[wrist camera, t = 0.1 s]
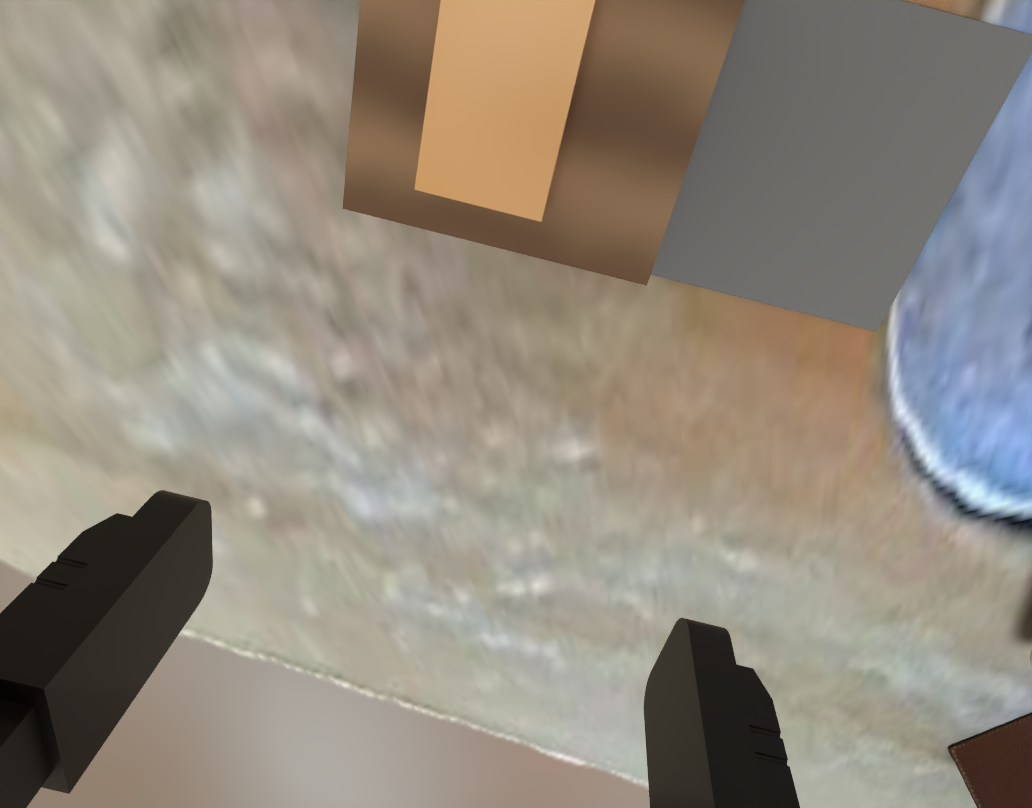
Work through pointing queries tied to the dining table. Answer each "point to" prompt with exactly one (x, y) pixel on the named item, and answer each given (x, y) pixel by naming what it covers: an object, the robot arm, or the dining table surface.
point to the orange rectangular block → (500, 100)
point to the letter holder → (998, 765)
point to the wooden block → (586, 139)
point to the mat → (834, 151)
